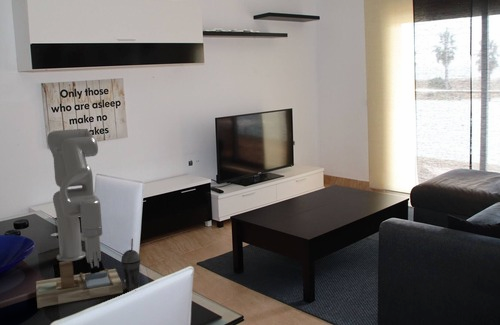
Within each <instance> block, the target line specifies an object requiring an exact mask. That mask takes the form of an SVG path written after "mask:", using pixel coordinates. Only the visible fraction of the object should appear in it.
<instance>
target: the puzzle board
mask: <svg viewBox="0 0 500 325" xmlns="http://www.w3.org/2000/svg"><path fill="white" fill-rule="evenodd" d="M104 271H106V272H107V275H108V278H109V280H110V285H105V286H99V287H93V288H87V287H86V283H85V275H86V274H91V272H87V273H83V272H80V273H79V274H74V286H75V287H74V288H68V289H62V287H61V277H55V278H49V279H44V280H43V279H42V280H37V281H35V284H36V286H35V287H36V303H37V304H36V305H37V309H41V308H43V307H48V306H55V305H61V304H66V303H71V302H77V301H83V300H88V299H93V298H100V297H105V296H106V297H107V296H110V295H111V296H112V295H116V294H122V293H123V292H124V288H123V283H122V280H121V278H120V276H119V273H118V272H117V269H116V268H113V269H108V268H105V269H104V270H100V272H104Z"/></svg>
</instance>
